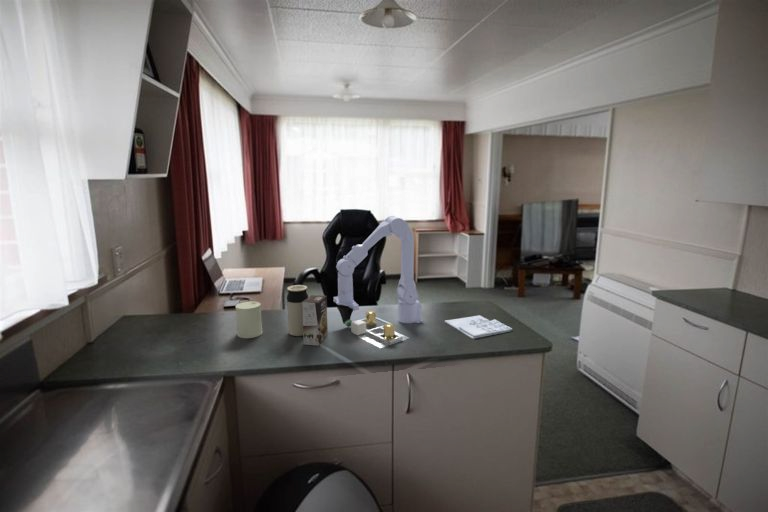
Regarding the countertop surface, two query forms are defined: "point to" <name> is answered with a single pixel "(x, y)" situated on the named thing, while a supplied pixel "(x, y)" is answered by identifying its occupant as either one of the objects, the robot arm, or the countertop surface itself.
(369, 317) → the cylinder
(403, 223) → the robot arm
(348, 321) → the knob
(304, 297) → the travel mug
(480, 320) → the white printed book
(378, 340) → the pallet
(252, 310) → the can
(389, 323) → the tray
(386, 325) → the billet
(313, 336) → the coffee box
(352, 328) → the white block
